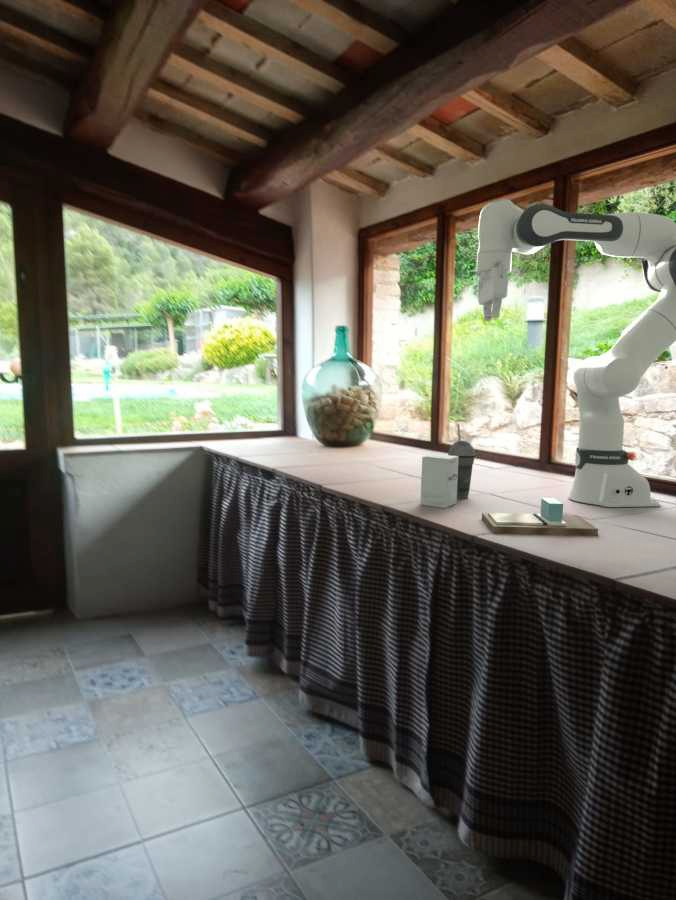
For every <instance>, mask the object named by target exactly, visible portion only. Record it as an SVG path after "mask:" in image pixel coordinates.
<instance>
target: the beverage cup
mask: <svg viewBox="0 0 676 900" xmlns="http://www.w3.org/2000/svg"><path fill="white" fill-rule="evenodd" d="M456 427H457V436H458V437H457V439H458V440H457V441H455V442H453V444H451V446H450V447H449V449H448V454H447V455H451V456H459V458H458V481H457V500H467V499H468V498H469V493H470V488H471V481H472V474H473V472H472V471H473V465H474V463H475V457H476V455H475V454H476V453H475V449H474V447H473V445H472V444H471V443H470V442H468V441H466V440H461V430H460V424H459V423H458V424H457V426H456Z"/></svg>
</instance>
